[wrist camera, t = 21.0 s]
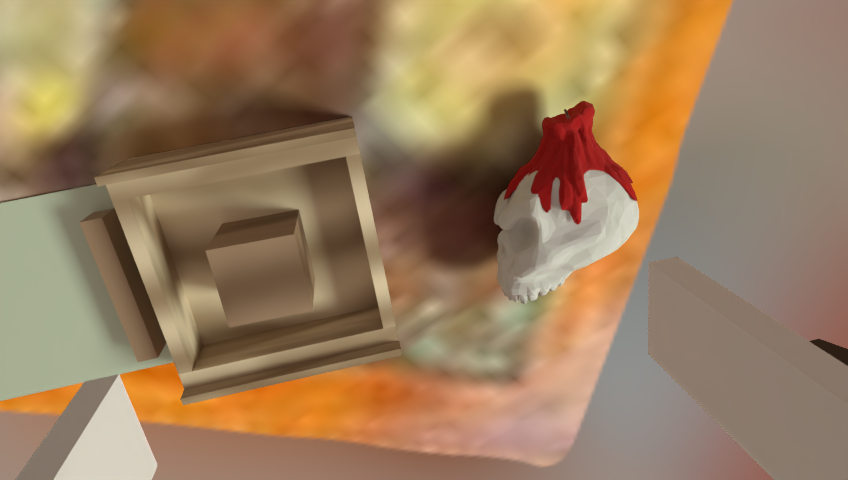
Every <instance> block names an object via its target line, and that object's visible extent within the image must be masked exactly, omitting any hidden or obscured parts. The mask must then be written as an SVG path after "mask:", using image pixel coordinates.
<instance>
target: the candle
mask: <svg viewBox="0 0 848 480" xmlns="http://www.w3.org/2000/svg"><path fill="white" fill-rule="evenodd" d="M564 111H565V114H560V115H557V116H555V117H552V118H550V117H546V118H544V120H543V122H542V129H543V137H542V139H541V142H540V145H539V148H538V150H537V152H536V154H535V155H534V156H533V157H532V159H531V160H530V161H529V162H528V163H527V164H526V165H524V166H522V167H520V168H519V170H518V171H517V173H516V174H515V176H514V178H513V179H512V180H511V181H510V183H509V185H508V188H507V189H506V190H504V191H503V192H502V193H501V195H500V196H499V198H498V200H497V203H496V207H495V213H494V223H495V224H496V225H499V226H500V228H502V229H503V230H502V231H501V232H500V233H499V235H498V238H497V243H498V252H497V260H498V273H497V280H498V283H499V285H500V286H501V287H502V290H503V292H504V294H505V296H507V297H508V298H509V300H514V301H515V302H517V301H519V297H520V300H521V303H523V304H526V302H527V298H529V300H531V301H533V300H536V299H537V296H538V293H539V295H540V296H543V295H545V294H547V293H548V291H554V290H556V288H557V286H561V285H563V283H564V282H565V279H566V278H567V277H568V276H569V275H570V274H571V273H572V272H573V271H574V270H577V269H580V268H583V267H586V266H587V265H589V264H591V263H593V262H595V261H597V260H599V259H601V258H603V257H605V256H607V255H609V254H610V253H612V252H614V251H616V250H617V249H618V248H619V247H620V246H621V245H622V244H623V243H624V242H625V241H626V240H627V239H628V238H629V237H630V235H631V234H632V233H633V232H634V230H635V229H636V228H637V224H638V220H639V209H638V204H637V198H636V194H635V192H634V190H633V188H632V186H631V183H633V182H632V180H631V178H630V177H629V175H628V173H627V172H626V171H625V170H624V169H623V168H622V167H620V166H619V165H618V164H617V163H615V162H614V161H613V160H612V159H611V158H610V156H609V155H608V154H607V153H606V151H605V150H603V149H602V148H601V147H600V146H599V145H598V144H597V142H596V141H595V138H594V136H593V133H592V126H593V116H594V113H595V110H594V107H593V104H590V103H588V102H586V101H581V102H580V103H578V104H577V105H576V106H575V107H573V108H570V109H568V111H567V110H566V109H565V110H564Z"/></svg>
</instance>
